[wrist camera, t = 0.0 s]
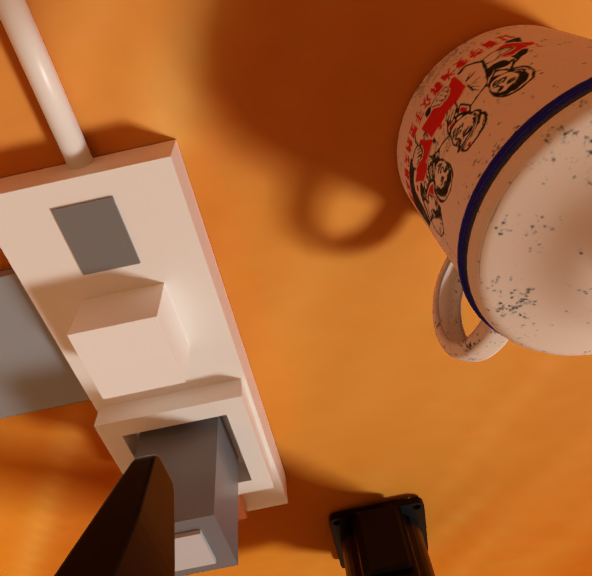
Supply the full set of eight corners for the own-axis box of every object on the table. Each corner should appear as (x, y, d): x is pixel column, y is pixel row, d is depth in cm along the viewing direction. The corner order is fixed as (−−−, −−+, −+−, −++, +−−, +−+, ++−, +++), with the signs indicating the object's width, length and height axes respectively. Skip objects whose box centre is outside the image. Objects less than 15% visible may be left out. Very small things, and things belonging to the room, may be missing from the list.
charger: (238, 457, 29) (237, 569, 24) (167, 471, 29) (152, 586, 24) (218, 407, 27) (213, 519, 21) (142, 422, 27) (118, 538, 22)
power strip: (285, 475, 33) (291, 541, 30) (169, 498, 33) (160, 566, 30) (89, -126, 16) (45, -146, 13) (-145, -71, 16) (-254, -74, 13)
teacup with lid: (458, -26, 19) (694, 10, 9) (649, 68, 21) (996, 174, 11) (328, 253, 25) (386, 456, 15) (489, 301, 27) (629, 502, 17)
